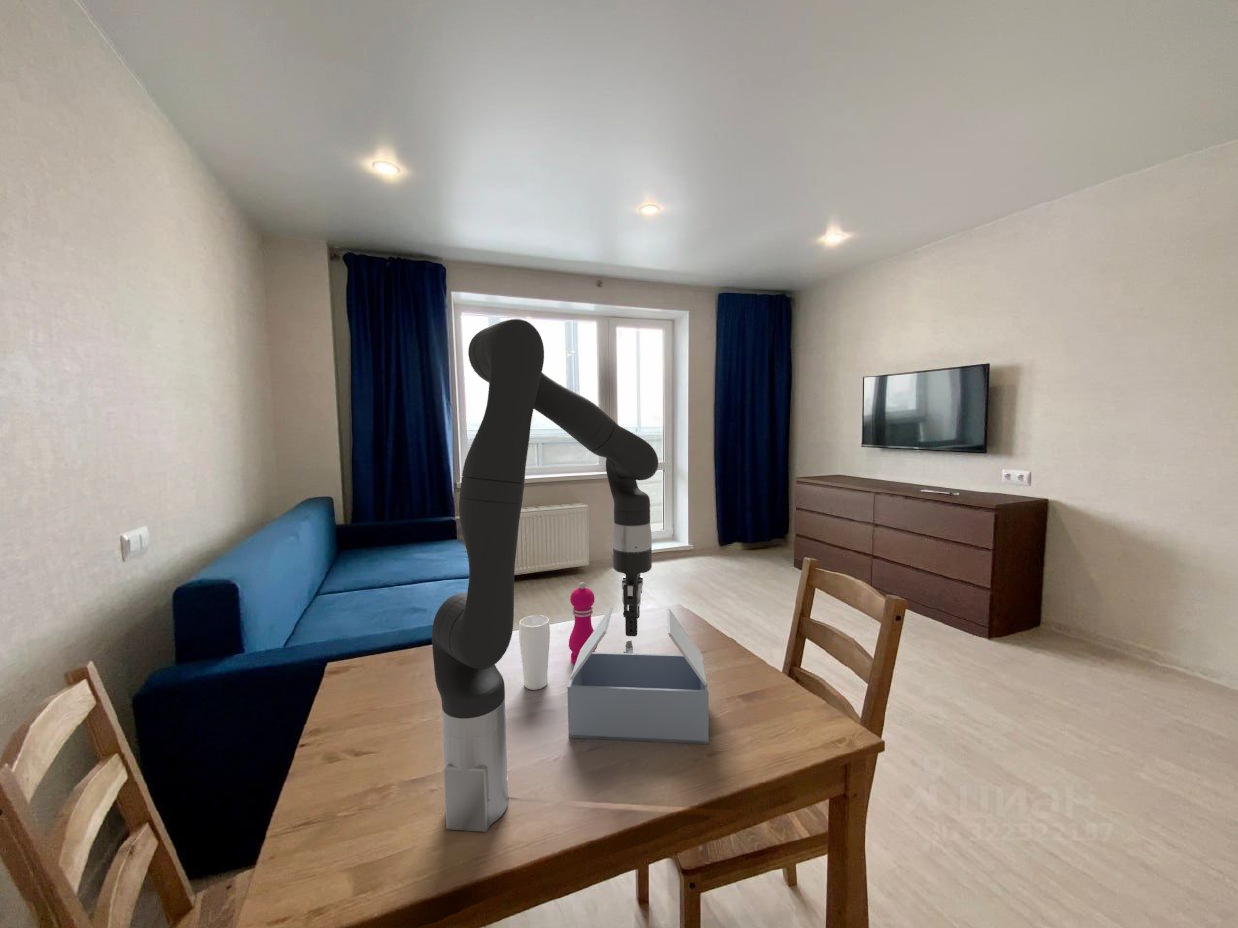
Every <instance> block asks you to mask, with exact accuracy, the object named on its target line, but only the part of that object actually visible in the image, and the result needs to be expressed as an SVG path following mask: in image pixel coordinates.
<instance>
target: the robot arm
mask: <svg viewBox="0 0 1238 928" xmlns="http://www.w3.org/2000/svg"><path fill="white" fill-rule="evenodd" d="M467 352H468V353H467V354H468V361H469V363H470V365H471V368H472V369H473V371H474V373H475V374H477V376H478V377H480V378H481V379H482V380H484V381H486V382H487V383H488V393H487V399H486V400H487V401H486V407H485V411H484V414H483V417H482V420H481V423H480V425H479V426H478V429H477V431H476V434H475V436H474V438H473V441H472V443H471V445H470V448H469V449H468V452H467V455H466V458H465V460H464V463H463V464H464V465H463V469H462V473H461V481H460V490H459V499H458V517H459V524H460V528H461V533H462V534H461V535H462V538H463V541H464V545H465V548H466V555H467V560H468V583H467V592H460V593H457V594H454V595H452V596H450V597H448V598H447V599H446V600H444V601H443V602H442V604H441V605H440V606H439V608H438V610H437V612H436V614H435V615H434V619H433V623H432V628H431V644H432V645H431V648H432V655H433V656H432V658H433V669H434V679H435V685H436V688H437V691H438V694H439V696H440V699H441V715H442V741H443V744H442V745H443V761H444V762H443V764H444V765H443V766H444V769H443V780H444V781H443V782H444V804H445V826H446V827H445V828H446V830H454V831H468V832H470V831H473V832H483V833H485V832H487V831H488V830H489V828H490V826H491V825H492V824H493V823H495V822H497V820H499V819H500V818H501V817H502V816H503V814H505V811H507V808H508V804H509V781H508V778H509V777H508V752H507V751H508V750H507V727H506V726H507V723H506V696H505V695H506V690H505V689H506V687H505V680H504V677H503V675H502V674H501V672H500V671H499V670H498V668H497V666H496V664H497V663H498V662H499V661H500V660H501V659H502V658H503V657H504V655H505V654H506V652H507V649H509V646H510V643H511V641H512V636H513V633H514V632H513V631H514V630H513V629H514V619H515V618H514V616H515V613H514V612H515V611H514V609H515V608H514V607H515V571H516V556H517V547H518V540H519V539H518V537H519V526H520V520H521V519H520V518H521V512H522V506H523V499H524V489H525V481H526V467H527V466H526V465H527V459H528V453H529V452H528V451H529V445H530V444H529V443H530V436H531V427H532V419H533V413H534V410H535V411H536V412H538V413H539V414H540V415H542V416H544V417H545V418H546V419H548V420H549V421H550V422H552V423H554V424H555V425H557V426H558V427H560V428H561V429H562V430H563V431H564V432H566V434H568V435H569V436H571V437H572V438H573V439H574V440H576V441H577V442H578V443H579V444H580V445H581V446H583V447H585V449H586V450H588V451H589V452H591V453H593V454H594V455H596V456H599V457H602V458H605V472H606V475H607V477H606V478H607V480H608V485H609V490H610V493H611V495H612V499H613V529H612V530H613V531H612V556H613V557H612V560H613V561H612V564H613V569H614V571H615V572H618V573H619V574H620V573H621V574H624V575H625V576H622V580H621V590H622V597H621V598H622V601H621V602H622V604H623V612H622V615H623V618H625V620H624V621H625V622H624V623H625V624H624V625H625V631H624V632H625V636H627V637H637V635H638V619H639V618H640V615H641V613H640V610H641V609H640V606H641V602H642V593H643V585H644V577H643V576H641V574H645V573H648V572H649V571H651V570H652V567H653V564H652V563H653V562H652V561H653V560H652V556H653V555H652V549H653V548H652V545H653V543H652V541H653V540H652V538H653V537H652V529H651V499H650V496H649V495H648V493H646V492H644V491H642V490H641V489H640V488H639V486H638V483H637V481H644V480H645V481H647V480H649V479H650V478H652V477H653V476H654V475H655V474H656V472H657V470H658V468H659V458H658V455H657V452H656V451H655V449H654V448H653V446H652V445H651V444H650V443H649V442H647V441H646V440H644V439H643V438H642V437H640V436H639V435H637V434H635V433H633V432H631V431H630V430H628V429H626V428H624V427H623V426H620V425H619V424H618V423H617V422H616V421H615V420H614V419H613V418H612V417H610V416H609V415H608V414H607V413H606V412H605V411H604V410H603V409H601V408H600V407H599V406H598V405H596V404H595V403H594V402H593V401H590V399H588V398H586V397H585V396H583V395H580V394H579V393H576V392H575V391H573V390H571V389H569V388H567V387H565V386H563V385H562V384H560V383H558V382H557V381H555V380H553V379H552V378H550V377H549V376H547V375H546V374H545V373H544V372H543V368H544V363H545V347H544V341H543V339H542V337H541V334H540V333H539V330H538V329H537V328H536V327H535V325H533V324H532V323H530V322H529V321H528V320H526V319H523V318H511V319H506V320H501V321H500V322H497V323H495V324H493V325H491V326H488V327H486V328H483V329H481V330H479V331H478V332H477V333H476V334H474V336H473V337H472V339H471V340H470V342H469V345H468V351H467Z"/></svg>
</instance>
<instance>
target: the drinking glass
mask: <svg viewBox="0 0 1238 928" xmlns="http://www.w3.org/2000/svg"><path fill="white" fill-rule="evenodd" d="M518 624H519V625H518V635H519V636H518V637H519V649H520V656H521V664H522V672H523V673H522V675H523V686H524V687H525V688H526V689H528V690H531V691H537V690H541V689H543V688H545V687H546V685H548V682H549V681H548V679H549V677H548V674H549V672H548V671H549V655H550V654H549V653H550V642H551V641H550V638H551V632H550V630H551V627H550V619H549V617H547V616H546V615H540V614H532V615H527V616H525V617H523V618H521V619H520V620H519V622H518Z"/></svg>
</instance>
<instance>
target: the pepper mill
mask: <svg viewBox="0 0 1238 928" xmlns="http://www.w3.org/2000/svg"><path fill="white" fill-rule="evenodd" d="M569 601H570V604H571V606H572V615H573V616H574V624H573V629H572V631H571V633H570V636H569V639H568V649H569V650H570V651H571V653H570V662H571V663H572V665H574V666H575V663H576V661H577V658H578V655H579V652H580V649H581V648H582V647H583V645H584V644H585V642H586V641H587V640H588V638H589V637H590V635H591V634H592V633H593V631H594V630H595V629H594V628H593V625H592V615H593V613H594V611H593V610H594V609H593V605H594V604H595V593H594V591H592V590H591V589H590V588H588V587H587V584H586V583H585V582H584V581H581V582H579V584H578V588H576V589H573V591H572V592H571V594H570V600H569ZM598 645H599V644H598ZM598 645H597V646H596V648H595V649H594V651H593V652H596V650H597V649H598Z"/></svg>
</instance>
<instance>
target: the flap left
mask: <svg viewBox="0 0 1238 928" xmlns="http://www.w3.org/2000/svg"><path fill="white" fill-rule="evenodd" d="M613 610H614V609H613V607H612V606H610V607H609V608H608V610H607V611H606V613H605V614H604V616H603V617H602V619H601V620H600V622H599V623H598V624H597V626H596V627H595V629H593V630H594V631H593V633H592V634H591V635H590V637H589V638H588V640H587V641H586V642H585V644H584V645H583V647H582V648H581V649H580V652H579V655H578V658H577V661H576V663H575V665H574V666H573V668H572V669H573V670H572V672H571V675H570V676H569V677H570V678H569V680H570V679H571V680H573V678H574V677H575V676H576V674H577V673H578V672H579V670H580V669H581V667H582V666H583V665H584V663H585V662H586V660H587V659H588V658H589V656H590V655H591V653H592V652H593V651H594V649H595V648H596V646H597V645H599V644H600V642H601V641H602V640H603V638H604V637H605V636H606V634H607V632H608V628H609V624H610V621H611V617H612V612H613ZM597 647H598V646H597ZM596 649H597V648H596Z"/></svg>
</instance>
